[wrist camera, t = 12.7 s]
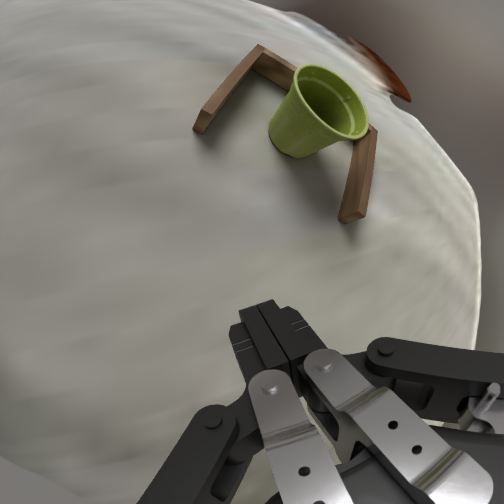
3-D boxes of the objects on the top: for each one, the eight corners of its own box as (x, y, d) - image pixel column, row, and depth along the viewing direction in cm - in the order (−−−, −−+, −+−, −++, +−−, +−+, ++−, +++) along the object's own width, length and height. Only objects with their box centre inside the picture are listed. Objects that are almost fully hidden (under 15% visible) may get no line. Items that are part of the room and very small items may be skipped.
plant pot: (333, 157, 33) (381, 127, 25) (286, 184, 29) (338, 149, 21) (293, 100, 32) (331, 61, 24) (239, 117, 28) (275, 67, 20)
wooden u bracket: (192, 128, 25) (201, 108, 22) (247, 60, 30) (258, 43, 27) (344, 224, 32) (365, 216, 28) (361, 141, 37) (377, 131, 33)
